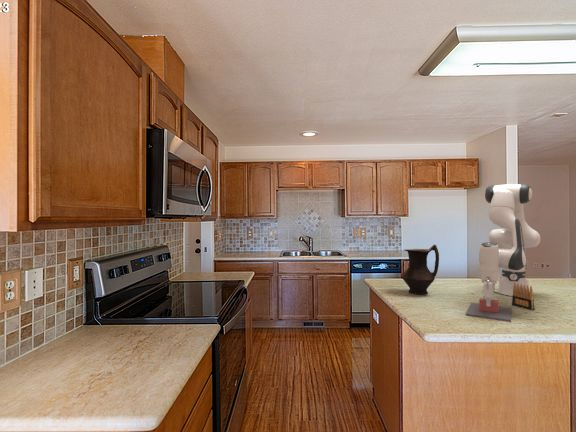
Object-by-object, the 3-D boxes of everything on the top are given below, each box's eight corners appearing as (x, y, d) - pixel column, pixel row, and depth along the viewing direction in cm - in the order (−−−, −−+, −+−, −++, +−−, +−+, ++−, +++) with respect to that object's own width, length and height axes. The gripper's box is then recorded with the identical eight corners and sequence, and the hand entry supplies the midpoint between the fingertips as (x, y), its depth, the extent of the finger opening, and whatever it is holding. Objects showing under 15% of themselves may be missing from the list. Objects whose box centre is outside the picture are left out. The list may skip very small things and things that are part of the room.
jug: (400, 295, 201) (400, 245, 201) (402, 289, 218) (402, 242, 218) (439, 299, 193) (439, 246, 193) (438, 292, 210) (438, 243, 210)
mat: (470, 303, 183) (470, 302, 183) (511, 309, 173) (511, 307, 173) (465, 315, 163) (465, 313, 163) (510, 321, 153) (510, 320, 153)
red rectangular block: (498, 310, 168) (498, 300, 168) (498, 312, 164) (498, 302, 164) (480, 308, 172) (480, 298, 172) (479, 310, 168) (479, 300, 168)
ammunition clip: (534, 310, 171) (534, 286, 171) (531, 310, 171) (531, 286, 171) (514, 304, 181) (514, 282, 181) (511, 304, 181) (511, 282, 181)
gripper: (495, 280, 157) (495, 309, 158) (497, 273, 174) (497, 300, 175) (479, 278, 161) (479, 307, 161) (483, 272, 178) (483, 298, 178)
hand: (489, 303), depth 168 cm, fingers open, 8 cm apart
